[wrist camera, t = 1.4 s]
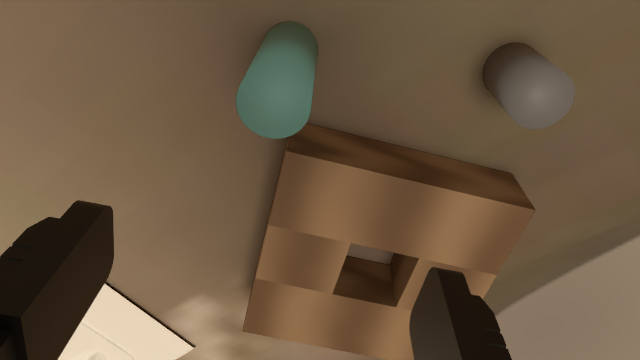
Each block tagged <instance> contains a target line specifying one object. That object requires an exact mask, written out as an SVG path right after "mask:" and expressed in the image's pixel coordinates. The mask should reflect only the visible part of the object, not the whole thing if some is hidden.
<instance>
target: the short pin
mask: <svg viewBox="0 0 640 360" xmlns="http://www.w3.org/2000/svg"><path fill="white" fill-rule="evenodd" d="M483 80H484V83H485V85H486V87H487V88H488V89H489V91H490V92H491V93H492V94H493V95H494V97H495V98H496V99H497V100H498V102H499V103H500V104H501V105H502V107H503V108H504V109H505V110H506V112H507V113H508V114H509V115H510V117H511V118H512V119H513V120H514V121H515V122H516V123H517V124H518V125H520V126H522V127H524V128H528V129H541V128H545V127H548V126H551V125H553V124H555V123H556V122H558V121H559V120H561V119H562V118H563V117H564V116H565V115H566V114H567V112H568V111H569V110H570V108H571V106H572V104H573V102H574V98H575V87H574V83H573V81H572V79H571V78H570V77H569V76H568V75H567V74H566V73H565V72H563V71H562V70H561V69H559V68H558V67H557V66H555V65H554V64H553V63H551V62H550V61H549V60H547V59H546V58H545V57H543V56H542V55H541V54H539V53H538V52H537V51H535V50H534V49H533V48H531V47H530V46H528V45H526V44H524V43H509V44H505V45H503V46H501V47H499V48H498V49H496V50H495V51H494V52H493V53H492V54H491V55H490V56H489V57H488V59H487V61H486V63H485V65H484V68H483Z"/></svg>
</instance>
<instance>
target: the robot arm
mask: <svg viewBox="0 0 640 360" xmlns="http://www.w3.org/2000/svg"><path fill="white" fill-rule="evenodd" d="M113 259H114V235H113V210H112V208H111V207H110V206H107V205H101V204H96V203H91V202H85V201H79V200H78V201H76V202H74V203H73V204H72V205H71V207H70V208H69V209H68V210H67V211H66V212H65V213H64V215H63V216H62V217H61V218H60V219H59V218H53V217H48V218H46V219H44V220H42V221H40V222H38V223H36V224H34V225H33V226H31V227H29V228H27V229H26V230H25V231H24V232H23V233H22V234H21V235H20V236H19V237H18V239H17V240H16V241H15V242H14V243H13V245H12V247H9V248H8V249H7V250H6V251H5V252H4V253H3V254H2V255H1V256H0V360H58V358H59V357H60V355H61V353H62V352H63V350H64V349H65V347H66V345H67V344H68V342H69V340H70V339H71V337H72V336H73V334H74V332H75V331H76V329H77V327H78V326H79V324H80V323H81V321H82V319H83V318H84V316H85V314H86V313H87V311H88V310H89V308H90V306H91V305H92V303H93V301H94V300H95V298H96V297H97V295H98V293H99V292H100V290H101V288H102V287H103V285H104V284H105V282H106V280H107V278H108V276H109V274H110V271H111V268H112V264H113ZM409 332H410V339H411V344H412V350H413V356H414V360H512V359H511V356H510V354H509V352H508V349H506V344H505V341H504V338H503V336H502V334H500V328H499V326H498V323H497V320H496V318H495V315H494V313H493V311H492V310H491V309H490V308H489V307H488V305H487V304H486V303H485V302H484V301H483V299H482V298H481V297H480V296H477V295H472V294H471V293H470V290H469V287H468V284H467V282H466V279H465V276H464V274H463V273H462V272H458V271H453V270H447V269H442V268H437V267H432V268H431V269H430V270H429V271H428V274H427V276H426V278H425V280H424V283H423V285H422V287H421V290H420V292H419V294H418V297H417V299H416V301H415V304H414V306H413V308H412V311H411V316H410V323H409Z"/></svg>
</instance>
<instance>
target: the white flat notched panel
mask: <svg viewBox="0 0 640 360" xmlns="http://www.w3.org/2000/svg"><path fill="white" fill-rule="evenodd" d="M195 347H196V346H195ZM195 347H194V348H195ZM194 348H193V347H192V346H190V345H189V344H187V343H186V342H185V341H183V340H182V339H181V338H179V337H178V336H176V335H175V334H174V333H172V332H171V331H169V330H168V329H167V328H165V327H164V326H163V325H161V324H160V323H158V322H157V321H156V320H154V319H153V318H151V317H150V316H149V315H147V314H146V313H145V312H143V311H142V310H140V309H139V308H138V307H136V306H135V305H134V304H132V303H131V302H129V301H128V300H127V299H125V298H124V297H122V296H121V295H120V294H118V293H117V292H115V291H114V290H113V289H111V288H110V287H109V286H107V285H106V284H104V285H103V287H102V288H101V290H100V292H99V293H98V295H97V297H96V298H95V300H94V301H93V303H92V305H91V306H90V308H89V310H88V311H87V313H86V314H85V316H84V318H83V319H82V321H81V323H80V324H79V326H78V327H77V329H76V331H75V332H74V334H73V336H72V337H71V339H70V340H69V342H68V344H67V345H66V347H65V349H64V350H63V352H62V353H61V355H60V357H59V358H58V360H176V359H178V358H179V357H181V356H182V355H184V354H186V353H187V352H189V351H191V350H192V349H194Z"/></svg>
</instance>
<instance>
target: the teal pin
mask: <svg viewBox="0 0 640 360" xmlns="http://www.w3.org/2000/svg"><path fill="white" fill-rule="evenodd" d="M317 54H318V47H317V42H316V39H315V37H314V35H313V34H312V33H311V31H310V30H309V29H308V28H306V27H305V26H303V25H301V24H299V23H296V22H282V23H279V24H277V25H275V26H274V27H273V28H271V29H270V30H269V32H268V33H267V35H266V36H265V38H264V40H263V42H262V44H261V46H260V48H259V50H258V52H257V54H256V56H255V57H254V59H253V61H252V63H251V65H250V67H249V69H248V71H247V73H246V75H245V77H244V79H243V81H242V82H241V84H240V86H239V89H238V91H237V95H236V107H237V111H238V114H239V116H240V118H241V120H242V121H243V123H244V124H245V125H246V126H247V127H248V128H249V129H250V130H251V131H253V132H254V133H256V134H258V135H260V136H263V137H266V138H271V139H281V138H286V137H289V136H291V135H293V134H295V133H297V132H298V131H299V130H301V129H302V128H303V126H304V125H305V124H306V122H307V120H308V118H309V116H310V112H311V105H312V96H313V88H314V79H315V71H316V62H317Z"/></svg>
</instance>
